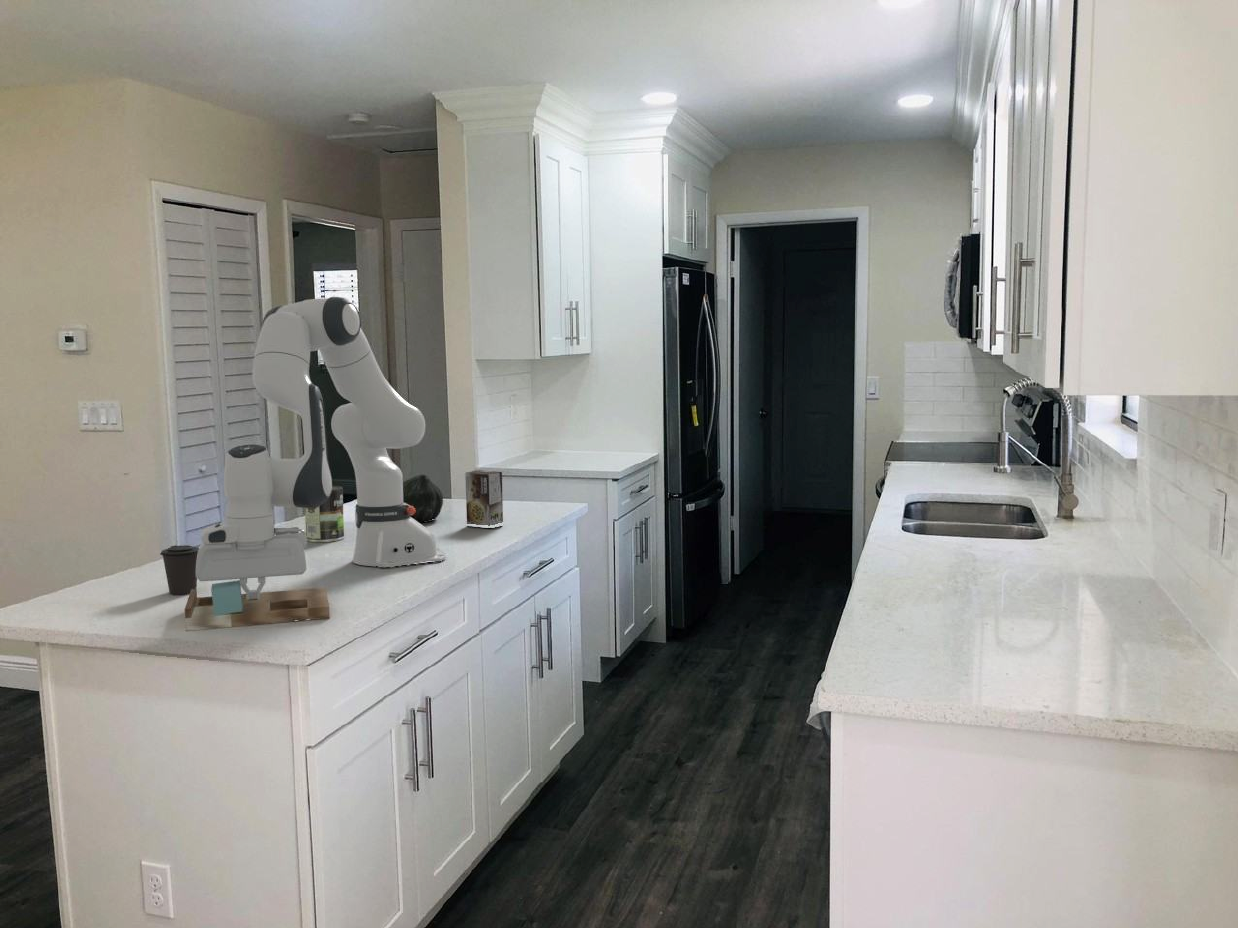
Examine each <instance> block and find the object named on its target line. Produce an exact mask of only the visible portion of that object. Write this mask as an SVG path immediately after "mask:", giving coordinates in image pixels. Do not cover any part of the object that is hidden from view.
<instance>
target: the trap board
mask: <svg viewBox="0 0 1238 928" xmlns="http://www.w3.org/2000/svg"><path fill="white" fill-rule="evenodd" d="M241 595H242V603H243V610H242V612H235V613H228V614H222V615H215V616H214V608H213V600H212V595H211V596H210V595H209V596H198V590H197V588H196V589H191V592H190V594H188V598H187V601H186V604H185V608H184V617H185V618H184V619H185V631H186V632H187V631H188V632H189V631H200V630H210V629H223V628H234V627H247V626H257V625H269V624H268V623H272V624H277V623H276V622H284V623H287V622H286V621H295V620H306V619H318V620H329V619H331V618H330V617H331V616H330V615H331V614H330V603H329V598H328V593H327V588H326V587H315V588H304V589H303V588H302V589H289V590H276V591H266V592H263V591H262V592H260V600H251V601H247V600H246V593H241ZM295 622H296V621H295Z"/></svg>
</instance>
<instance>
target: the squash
mask: <svg viewBox="0 0 1238 928" xmlns="http://www.w3.org/2000/svg"><path fill="white" fill-rule="evenodd" d="M403 502H404V503H406V504H408V505H410V506H413V507H414V508H415V510H416V511H415V513H414V514H413V515H412V516H411V517H412V518H413V519H415V520H416V521H417V522H419V520H420V522H421V521H428V522H430V521H429V520H432V519H434V520H436V519H437V518H438V517H439V515H440V513H441V511H442V507H443V505H444V496H443V492H442V491H441V489H440V487H439V486H438V485H437V483H435V482H434V481H433V480H432V479H431V478H430V477H429V476H427V475H426V474H419V475H416V476H413V477H410V478H409V479H407V480H405V481H403ZM432 521H433V520H432Z"/></svg>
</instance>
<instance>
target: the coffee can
mask: <svg viewBox="0 0 1238 928" xmlns="http://www.w3.org/2000/svg"><path fill="white" fill-rule="evenodd" d="M343 491H344V488H343V486H340V485H332V491H331V495H330V497H329V498H328V499H327V500H326V501H325V502H324V503H323V504H322V505H320V506H319V507H317V508H316V509H309V508H304V517H305V518H304V519H305V522H304V523H305V533H306V534H307V542H311V543H332V542H338V541H341V540H344V539H345V526H344V525H345V523H344V519H345V518H344V500H343V499H344V496H343V495H344V494H343V493H344V492H343Z"/></svg>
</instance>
